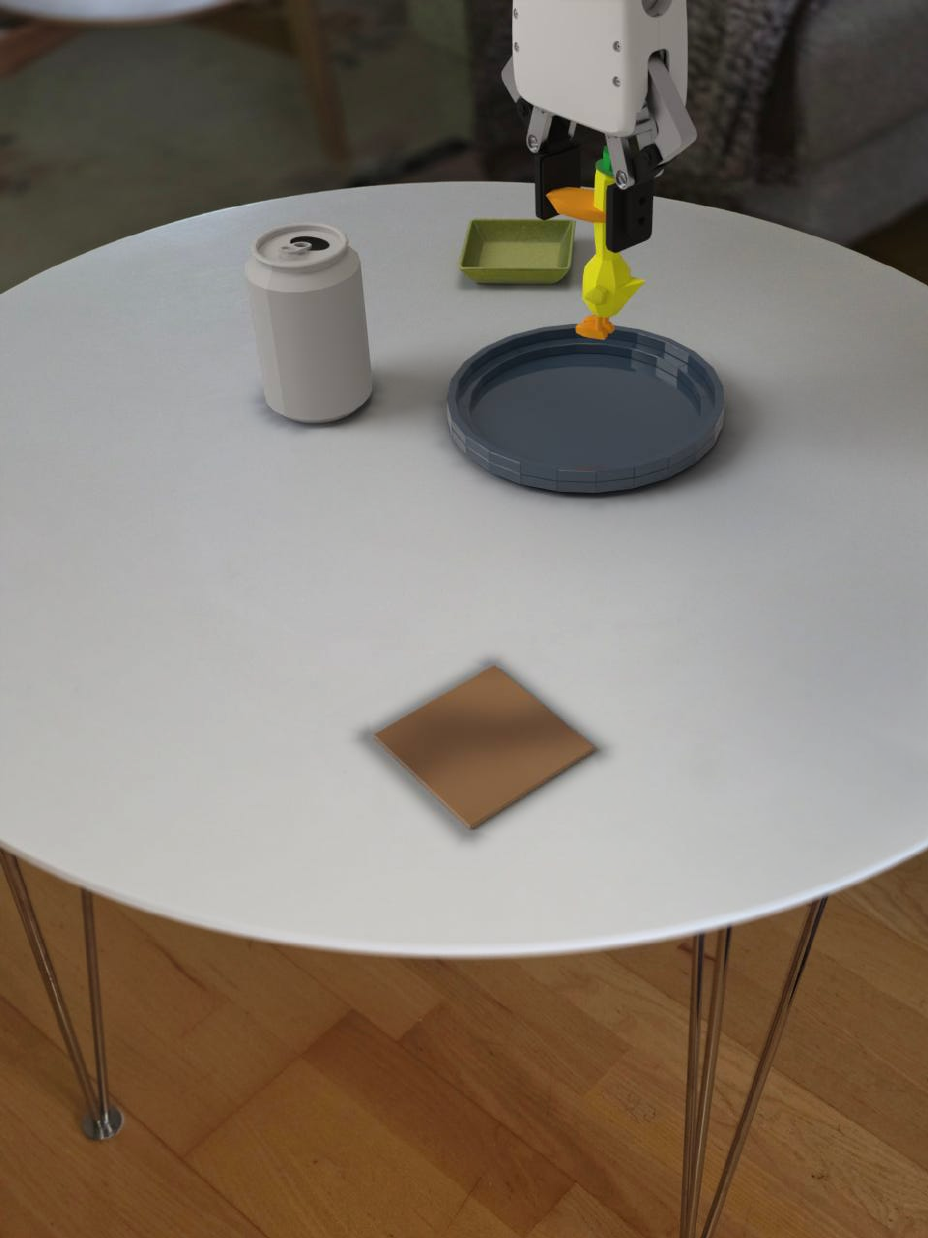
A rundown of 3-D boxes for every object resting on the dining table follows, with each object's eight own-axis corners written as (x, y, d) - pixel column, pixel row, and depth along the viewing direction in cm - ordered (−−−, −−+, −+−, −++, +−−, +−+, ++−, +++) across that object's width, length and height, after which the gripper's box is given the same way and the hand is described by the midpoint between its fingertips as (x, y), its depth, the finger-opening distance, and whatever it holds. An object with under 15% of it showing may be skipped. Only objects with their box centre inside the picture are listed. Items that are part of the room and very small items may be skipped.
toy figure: (532, 329, 87) (536, 145, 79) (558, 304, 89) (564, 123, 81) (629, 356, 84) (642, 168, 76) (653, 330, 86) (669, 145, 78)
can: (395, 389, 96) (380, 228, 88) (331, 442, 91) (310, 277, 83) (309, 363, 99) (288, 205, 91) (244, 413, 94) (216, 251, 86)
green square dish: (457, 291, 106) (456, 267, 105) (470, 241, 113) (469, 217, 111) (570, 293, 105) (570, 268, 104) (576, 242, 112) (576, 218, 110)
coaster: (594, 752, 69) (594, 746, 69) (470, 831, 65) (470, 826, 65) (494, 669, 74) (494, 664, 73) (373, 739, 70) (372, 734, 70)
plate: (779, 425, 90) (783, 397, 89) (573, 537, 82) (573, 508, 81) (593, 324, 101) (594, 297, 100) (395, 414, 93) (392, 386, 92)
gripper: (770, -92, 67) (741, 254, 79) (541, -140, 78) (546, 171, 89) (659, -60, 64) (647, 296, 75) (437, -114, 74) (456, 205, 86)
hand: (592, 225), depth 82 cm, fingers closed on toy figure, 5 cm apart
